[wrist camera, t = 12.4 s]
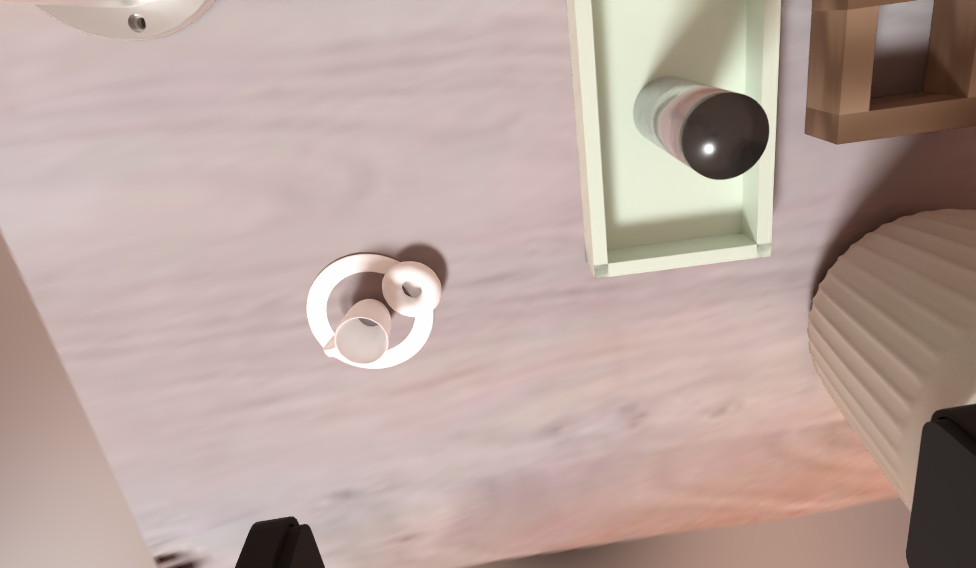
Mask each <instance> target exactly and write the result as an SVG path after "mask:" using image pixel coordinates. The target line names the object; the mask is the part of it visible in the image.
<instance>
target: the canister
mask: <svg viewBox="0 0 976 568" xmlns="http://www.w3.org/2000/svg"><path fill="white" fill-rule="evenodd" d="M812 301H813V306H812V310H811V311H810V312H809V326H808V329H807V332H808V337H809V339H810V340H809V350H810V353H811V355H812V357H813V363H814V366H815V369H816V371H817V373H818V374H819V376H820V378H821V380H822V382H823V384H824V386H825V388H826V389H827V391H828V392H829V394H830V396H831V397H832V399H833V400H834V402H835V403H836V405H837V406H838V408H839V409H840V411H841V412H842V414H843V416H844V417H845V419H846V420H847V422H848V423H849V425H850V426H851V428H852V429H853V431H854V432H855V433H856V435H857V436H858V438H859V439H860V441H861V442H862V444H863V445H864V446H865V448H866V449H867V451H868V452H869V454H870V455H871V456H872V458H873V459H874V461H875V462H876V463H877V465H878V466H879V468H880V469H881V470H882V472H883V473H884V475H885V476H886V478H887V479H888V480H889V482H890V483H891V485H892V486H893V488H894V489H895V490H896V492H897V493H898V495H899V496H900V498H901V499H902V501H903V502H904V503H905V505H906V506H907V508H908V509H909V510H910V512H911V511H912V503H913V496H914V488H915V480H916V473H917V465H918V457H919V450H920V442H921V435H922V429H923V425H924V424H925V423H926V422H929V421H931V417H932V415H933V413H934V412H935V411H937V410H940V409H945V408H951V407H957V406H963V405H969V404H975V403H976V210H972V209H962V210H960V209H940V210H935V211H922V212H918V213H916V214H914V215H912V216H903V217H900V218H898V219H896V220H895V221H893V222H890V223H886V224H883V225H881V226H880V227H879V228H878V229H876V230H875V231H873V232H869V233H867V234H865V235H864V237H863V238H861V239H860V240H859V241H858V242H856V243H854V244H852V245H851V246H850V248H849V249H848V250H847V251H846V252H845V253H844V254H843V255H841V256H839V257H838V259H837V261H836V262H835V264H834V265H833V266H832V267H831V268H830V269H828V271H827V274H826V276H825V278H824V280H823V281H822V282H821V283H820V284H819V289H818V291H817V294H816V295H815V297H814V298H813V300H812Z"/></svg>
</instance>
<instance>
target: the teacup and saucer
mask: <svg viewBox="0 0 976 568" xmlns="http://www.w3.org/2000/svg"><path fill="white" fill-rule="evenodd" d="M358 272H378V273H382V274H385V275H384V278H383V281H382V292H383V296H384V298H385V300H386V302H387V303H388V304H389V305H390V307H391V308H392V309H394V310H395V311H396V312H398V313H400V314H403V315H406V316H411V317H415V323H414V326H413V329H412V331H411V333H410V334H409V336H408V337H407V338H406V339H405V340H404V341H403V342H402V343H401V344H399V345H398V346H396V347H394V348H392V349H390V350H387V349H388V345H389V339H390V332H391V317H390V313H389V311H388V309H387V308H386V306H385V305H384V304H383V303H381V302H380V301H378V300H375V299H365V300H361V301H359V302H357V303H356V304H355V305H353V306H352V307H351V308H350V309H349V311H348V312H347V313H346V315H345V316H344V318H343V319H342V321H341V323H340V324H339V326H338V328H337V330H336V333H334V332H333V331H332V329H331V327H330V325H329V323H328V320H327V315H326V304H327V300H328V297H329V294H330V292H331V291H332V289H333V288H334V286H335V285H336V284H337V283H338V282H339V281H341V280H342V279H343V278H345V277H347V276H349V275H351V274H354V273H358ZM402 285H403V286H404V287H405V288H406V290H407V291H408V292H409V294H410V296H411V297H409V296H407V295H406V294H405V293H404V291H403V289H402ZM441 293H442V289H441V283H440V280H439V279H438V277H437V275H436V274H435V273H434V271H433V270H432V269H430V268H429V267H428V266H426V265H424V264H422V263H419V262H415V261H405V262H399V261H397V260H394V259H392V258H389V257H386V256H382V255H377V254H356V255H351V256H347V257H344V258H341V259H339V260H337V261H335V262H333V263H332V264H330V265H329V266H327V267H326V268H325V269H324V270H323V271H322V272H321V273H320V274H319V275H318V276H317V278H316V279H315V281H314V282H313V284H312V286H311V288H310V291H309V294H308V298H307V317H308V322H309V325H310V328H311V330H312V332H313V334H314V336H315V337H316V339H317V340H318V342H319V343H320V344H321V345H322V346H323V348H324V352H325V353H326V355H327V356H329V357H333V356H334V357H336V358H337V359H339V360H341V361H343V362H345V363H348V364H350V365H353V366H357V367H362V368H371V369H377V368H386V367H391V366H394V365H397V364H400V363H402V362H404V361H406V360H408V359H409V358H411V357H412V356H413V355H415V354H416V353H417V352H418V351H419V350H420V349H421V348H422V346H423V345H424V344H425V342H426V341H427V339H428V337H429V335H430V332H431V329H432V325H433V319H434V309H435V307H436V306H437V305H438V303H439V302H440V299H441ZM359 318H366V319H370V320H372V321H374V322H376V323H377V324H378V325H376V326H367V325H364V324H363V323H362V322H361V321H360V320H359Z"/></svg>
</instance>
